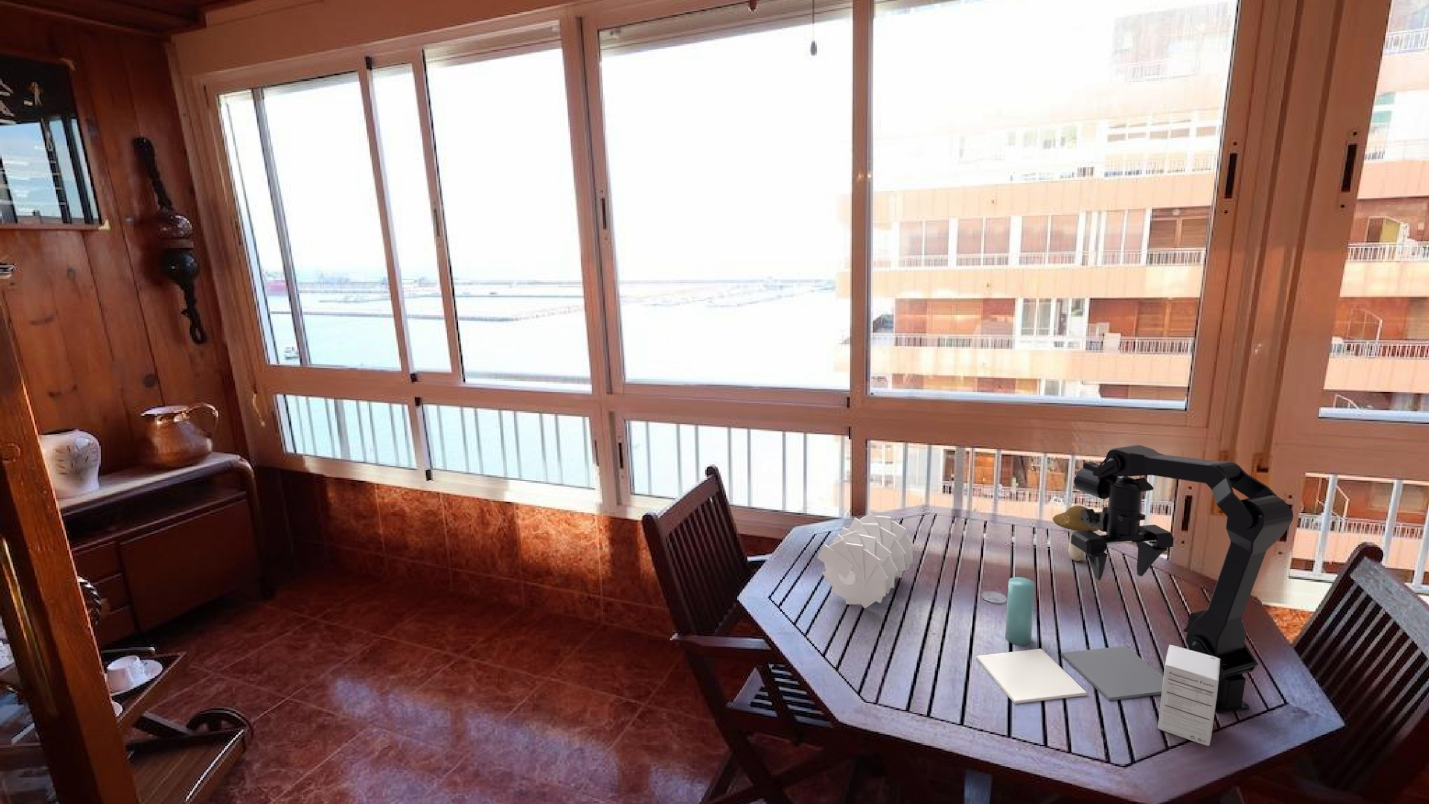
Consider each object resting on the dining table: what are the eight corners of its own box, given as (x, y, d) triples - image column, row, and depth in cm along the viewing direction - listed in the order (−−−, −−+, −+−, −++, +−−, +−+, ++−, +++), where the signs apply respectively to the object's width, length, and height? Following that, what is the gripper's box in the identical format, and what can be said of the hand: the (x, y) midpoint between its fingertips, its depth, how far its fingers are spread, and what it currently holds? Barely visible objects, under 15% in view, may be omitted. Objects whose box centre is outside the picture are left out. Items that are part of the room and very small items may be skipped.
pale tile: (1086, 695, 122) (1086, 692, 121) (1014, 703, 120) (1014, 700, 120) (1041, 651, 135) (1041, 648, 135) (976, 658, 134) (976, 655, 134)
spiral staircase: (899, 587, 171) (864, 630, 150) (842, 547, 178) (801, 582, 158) (932, 533, 164) (900, 570, 143) (872, 493, 171) (833, 523, 150)
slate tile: (1179, 692, 121) (1179, 689, 121) (1108, 700, 120) (1109, 697, 120) (1124, 648, 135) (1125, 645, 135) (1060, 655, 134) (1061, 652, 133)
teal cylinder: (1036, 644, 138) (1040, 587, 135) (1013, 646, 137) (1017, 589, 134) (1022, 631, 142) (1026, 576, 140) (1000, 633, 142) (1004, 578, 139)
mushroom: (1053, 548, 180) (1057, 496, 177) (1101, 557, 174) (1106, 504, 170) (1046, 561, 173) (1050, 507, 170) (1096, 571, 166) (1101, 516, 163)
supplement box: (1161, 705, 118) (1169, 642, 115) (1212, 722, 113) (1222, 657, 111) (1156, 729, 113) (1163, 663, 110) (1209, 748, 108) (1219, 680, 105)
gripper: (1139, 490, 143) (1133, 557, 146) (1057, 496, 141) (1053, 564, 144) (1179, 508, 132) (1172, 580, 135) (1090, 515, 130) (1085, 588, 133)
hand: (1118, 577), depth 137 cm, fingers open, 9 cm apart
